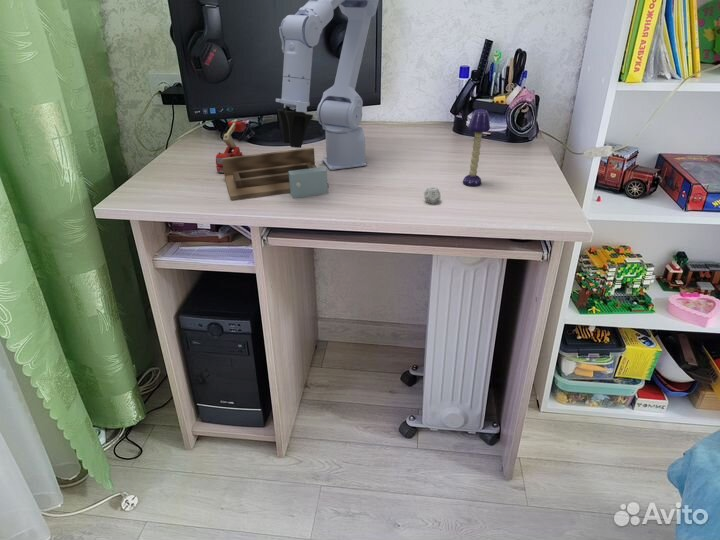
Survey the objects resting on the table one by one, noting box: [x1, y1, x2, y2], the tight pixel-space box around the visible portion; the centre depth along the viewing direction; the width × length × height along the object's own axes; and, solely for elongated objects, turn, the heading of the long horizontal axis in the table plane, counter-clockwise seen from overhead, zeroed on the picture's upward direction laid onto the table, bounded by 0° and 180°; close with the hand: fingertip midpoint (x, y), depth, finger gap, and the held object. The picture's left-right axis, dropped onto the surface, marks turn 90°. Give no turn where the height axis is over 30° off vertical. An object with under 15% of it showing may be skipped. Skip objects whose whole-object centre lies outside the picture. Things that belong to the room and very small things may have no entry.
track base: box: [222, 147, 330, 201], centre depth 126 cm, size 22×14×5 cm, turn 108°
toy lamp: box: [462, 108, 491, 187], centre depth 121 cm, size 5×5×17 cm
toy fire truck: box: [215, 121, 247, 174], centre depth 136 cm, size 3×14×10 cm, turn 168°
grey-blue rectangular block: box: [289, 166, 329, 199], centre depth 120 cm, size 8×3×6 cm, turn 108°
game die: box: [423, 186, 441, 205], centre depth 116 cm, size 4×4×3 cm
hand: (292, 145), depth 117 cm, fingers open, 7 cm apart
